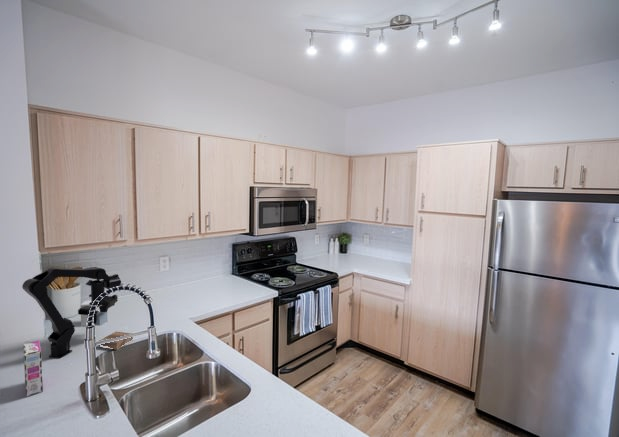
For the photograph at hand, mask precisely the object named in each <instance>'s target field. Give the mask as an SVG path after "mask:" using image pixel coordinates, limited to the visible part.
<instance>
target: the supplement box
mask: <svg viewBox="0 0 619 437" xmlns="http://www.w3.org/2000/svg"><path fill="white" fill-rule="evenodd" d="M90 302H91V299H90V300H84V301H83V302H82V303H80V308H82V307H84V306H91V305H90V304H89V303H90ZM96 311H99V312H100V309H99V307H98V308H96ZM87 316H88V315H80V324H81V325H80V326H81V327H84V326H85V327H86V322H87Z"/></svg>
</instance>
